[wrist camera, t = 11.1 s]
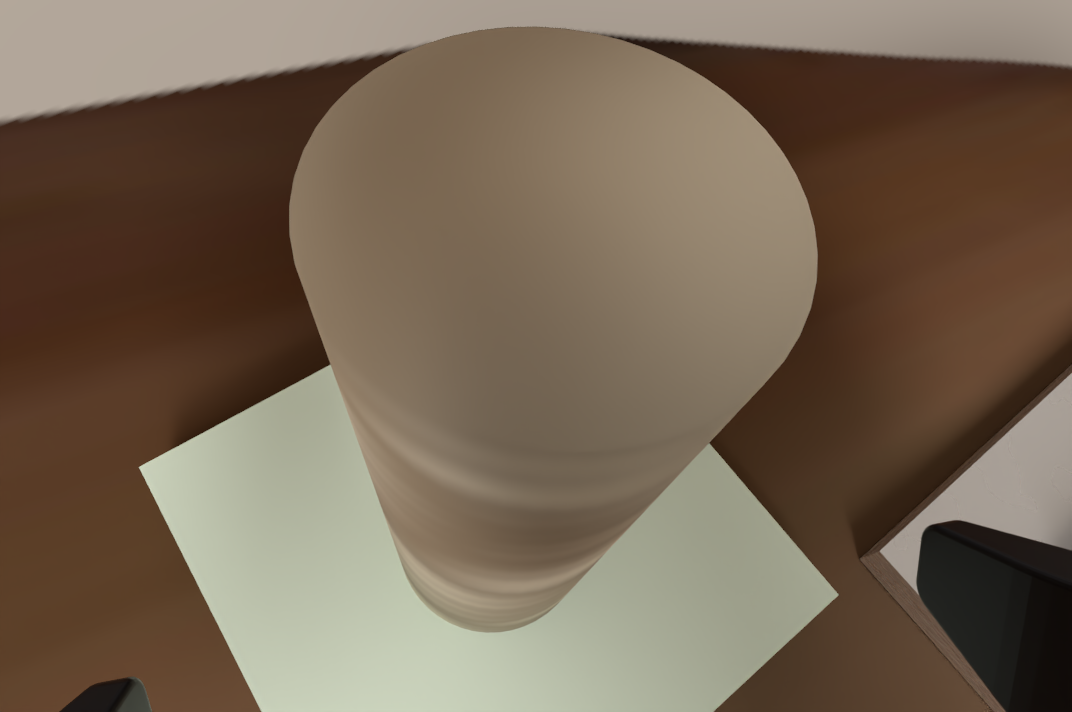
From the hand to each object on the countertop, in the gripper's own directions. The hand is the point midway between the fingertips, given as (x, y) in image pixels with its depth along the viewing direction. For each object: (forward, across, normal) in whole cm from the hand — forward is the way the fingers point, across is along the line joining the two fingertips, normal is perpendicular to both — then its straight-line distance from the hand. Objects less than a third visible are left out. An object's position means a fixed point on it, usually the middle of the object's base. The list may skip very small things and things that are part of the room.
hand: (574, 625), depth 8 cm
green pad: (+9, 0, +5) cm, 10 cm away
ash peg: (+8, 0, +4) cm, 9 cm away
